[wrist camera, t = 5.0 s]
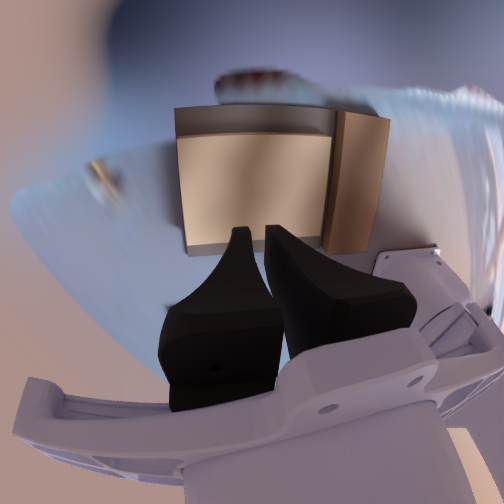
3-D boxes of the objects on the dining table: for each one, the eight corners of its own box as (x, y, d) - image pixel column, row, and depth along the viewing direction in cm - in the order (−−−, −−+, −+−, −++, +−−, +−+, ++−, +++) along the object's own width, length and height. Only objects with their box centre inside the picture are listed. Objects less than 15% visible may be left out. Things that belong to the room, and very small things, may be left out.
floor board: (380, 116, 18) (390, 119, 17) (359, 243, 25) (366, 252, 23) (174, 108, 16) (171, 109, 15) (188, 254, 23) (187, 264, 22)
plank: (324, 134, 18) (331, 137, 17) (314, 228, 23) (319, 235, 22) (178, 136, 17) (176, 139, 16) (187, 237, 21) (187, 245, 20)
